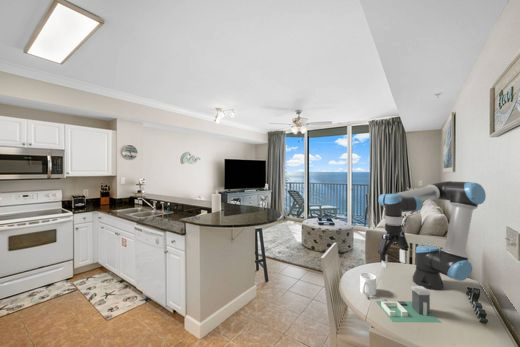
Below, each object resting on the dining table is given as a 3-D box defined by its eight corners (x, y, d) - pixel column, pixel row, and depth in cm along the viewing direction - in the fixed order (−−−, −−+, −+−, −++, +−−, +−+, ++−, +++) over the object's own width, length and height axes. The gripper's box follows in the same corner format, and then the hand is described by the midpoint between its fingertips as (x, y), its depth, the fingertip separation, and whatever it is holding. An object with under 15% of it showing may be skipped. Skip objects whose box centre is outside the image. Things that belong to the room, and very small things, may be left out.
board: (417, 303, 116) (417, 298, 116) (441, 324, 100) (441, 318, 100) (375, 303, 117) (375, 297, 117) (392, 324, 101) (392, 318, 101)
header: (397, 305, 113) (397, 301, 113) (407, 316, 105) (407, 311, 105) (381, 305, 113) (381, 301, 113) (390, 316, 105) (390, 311, 105)
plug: (422, 307, 111) (422, 286, 111) (430, 315, 105) (430, 292, 105) (411, 307, 111) (411, 286, 111) (419, 315, 105) (419, 292, 105)
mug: (370, 302, 118) (370, 283, 118) (355, 296, 124) (355, 278, 124) (378, 293, 126) (378, 275, 126) (363, 288, 132) (363, 271, 132)
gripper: (402, 219, 123) (402, 257, 123) (369, 224, 113) (370, 266, 113) (416, 222, 116) (416, 263, 116) (382, 228, 106) (383, 272, 106)
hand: (393, 264), depth 115 cm, fingers open, 13 cm apart
